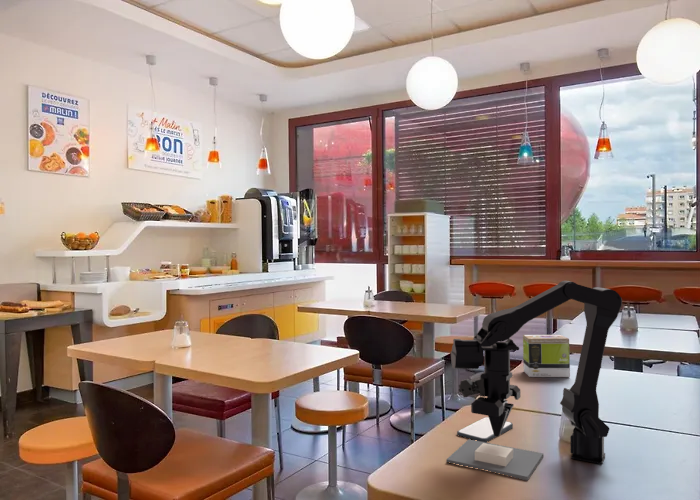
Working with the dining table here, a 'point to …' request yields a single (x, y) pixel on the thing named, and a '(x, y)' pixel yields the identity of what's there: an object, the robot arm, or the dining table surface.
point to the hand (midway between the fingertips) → (496, 435)
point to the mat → (517, 467)
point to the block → (494, 454)
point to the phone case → (482, 430)
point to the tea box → (546, 356)
